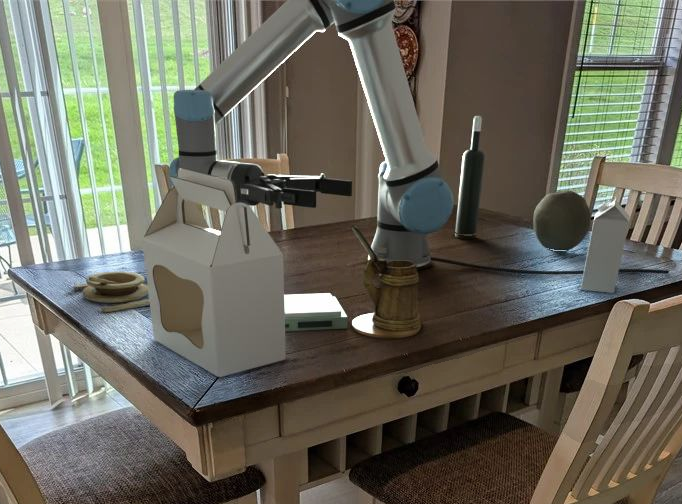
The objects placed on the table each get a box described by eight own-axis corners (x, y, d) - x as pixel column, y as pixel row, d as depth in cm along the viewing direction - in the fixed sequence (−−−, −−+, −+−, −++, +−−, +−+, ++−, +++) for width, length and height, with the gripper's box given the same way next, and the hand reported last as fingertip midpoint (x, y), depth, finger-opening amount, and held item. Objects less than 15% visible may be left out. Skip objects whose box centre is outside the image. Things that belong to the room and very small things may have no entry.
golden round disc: (410, 314, 144) (410, 311, 144) (429, 336, 133) (429, 333, 133) (345, 317, 142) (345, 314, 141) (360, 340, 131) (360, 336, 131)
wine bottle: (450, 236, 203) (462, 115, 187) (463, 233, 207) (476, 115, 191) (466, 240, 200) (479, 117, 184) (479, 237, 203) (493, 116, 187)
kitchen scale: (334, 307, 147) (334, 292, 145) (347, 328, 136) (348, 313, 134) (265, 310, 145) (265, 295, 143) (273, 332, 134) (272, 316, 132)
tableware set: (101, 313, 140) (96, 282, 137) (69, 288, 154) (64, 260, 151) (238, 291, 155) (237, 262, 152) (198, 270, 169) (196, 243, 165)
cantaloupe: (533, 244, 198) (542, 184, 190) (586, 249, 193) (598, 189, 185) (524, 255, 186) (533, 193, 178) (581, 261, 182) (593, 198, 174)
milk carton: (614, 285, 164) (634, 196, 154) (613, 294, 159) (633, 201, 149) (582, 282, 166) (599, 193, 156) (580, 290, 161) (597, 198, 151)
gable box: (153, 339, 129) (131, 168, 114) (217, 325, 136) (205, 162, 121) (219, 379, 115) (205, 188, 100) (287, 360, 122) (283, 180, 107)
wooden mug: (345, 318, 139) (347, 219, 130) (413, 315, 142) (420, 218, 132) (353, 333, 132) (356, 230, 122) (425, 330, 134) (433, 228, 125)
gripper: (275, 194, 154) (364, 204, 146) (201, 214, 136) (298, 227, 127) (273, 155, 150) (365, 163, 142) (198, 170, 132) (298, 181, 123)
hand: (334, 193), depth 134 cm, fingers open, 13 cm apart
